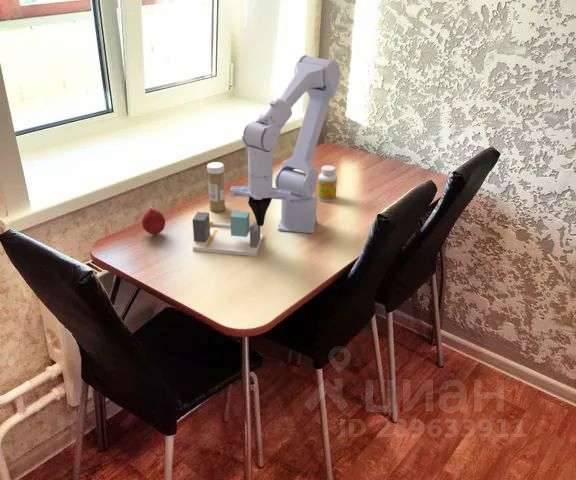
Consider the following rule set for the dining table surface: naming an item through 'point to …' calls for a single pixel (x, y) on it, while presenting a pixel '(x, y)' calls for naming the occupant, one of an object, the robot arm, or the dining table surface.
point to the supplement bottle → (327, 184)
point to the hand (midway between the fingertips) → (260, 224)
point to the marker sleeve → (239, 223)
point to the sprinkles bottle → (216, 186)
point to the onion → (153, 221)
